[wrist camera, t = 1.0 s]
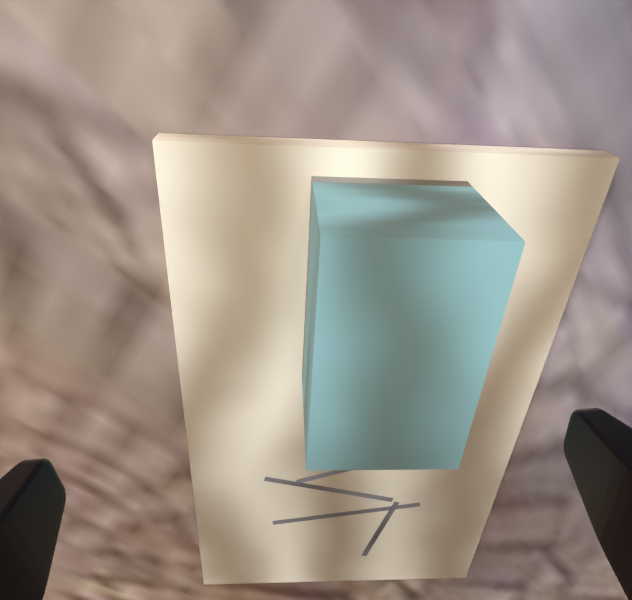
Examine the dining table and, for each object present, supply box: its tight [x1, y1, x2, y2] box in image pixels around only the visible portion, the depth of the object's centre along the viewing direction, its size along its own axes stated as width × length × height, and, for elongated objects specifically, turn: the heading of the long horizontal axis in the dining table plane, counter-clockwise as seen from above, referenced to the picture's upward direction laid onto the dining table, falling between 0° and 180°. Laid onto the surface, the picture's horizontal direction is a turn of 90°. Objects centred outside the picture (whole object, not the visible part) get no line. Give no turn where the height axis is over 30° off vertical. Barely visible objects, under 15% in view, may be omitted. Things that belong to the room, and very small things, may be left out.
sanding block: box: [302, 176, 525, 471], centre depth 18 cm, size 6×9×5 cm, turn 177°
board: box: [152, 133, 620, 584], centre depth 24 cm, size 16×26×1 cm, turn 177°
